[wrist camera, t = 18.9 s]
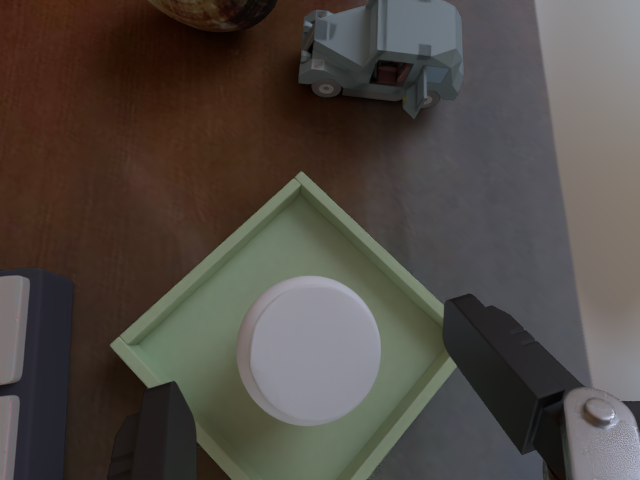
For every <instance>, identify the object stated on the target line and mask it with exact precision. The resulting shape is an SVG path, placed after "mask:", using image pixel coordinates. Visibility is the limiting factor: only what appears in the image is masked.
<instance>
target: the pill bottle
mask: <svg viewBox="0 0 640 480" xmlns="http://www.w3.org/2000/svg"><path fill="white" fill-rule="evenodd" d="M236 358H237V365H238V370H239V374H240V377H241V379H242V382H243V384H244V386H245V388H246V390H247V392H248V393H249V395H250V396H251V397H252V399H253V400H254V401H255V402H256V403H257V405H258V406H259V407H261V408H262V409H263V410H264V411H265V412H267V413H268V414H269V415H271V416H273V417H274V418H276V419H278V420H280V421H283V422H285V423H289V424H293V425H298V426H317V425H322V424H325V423H329V422H332V421H335V420H337V419H339V418H341V417H343V416H345V415H346V414H348V413H349V412H351V411H352V410H353V409H354V408H356V407H357V406H358V405H359V404H360V403H361V402H362V400H363V399H364V398H365V397H366V396H367V394H368V393H369V391H370V390H371V388H372V386H373V384H374V382H375V379H376V377H377V374H378V370H379V366H380V358H381V341H380V335H379V331H378V327H377V324H376V322H375V319H374V317H373V315H372V313H371V311H370V310H369V308H368V307H367V305H366V304H365V303H364V301H363V300H362V299H361V298H360V297H359V296H358V295H357V294H356V293H355V292H354V291H352V290H351V289H350V288H348V287H347V286H345V285H343V284H342V283H340V282H338V281H335V280H333V279H329V278H326V277H321V276H299V277H294V278H290V279H287V280H284V281H281V282H279V283H277V284H275V285H273V286H272V287H270V288H269V289H267V290H266V291H265V292H263V293H262V294H261V295H260V296H259V297H258V298H257V299H256V300H255V301H254V302H253V304H252V305H251V306H250V308H249V309H248V311H247V313H246V315H245V316H244V319H243V321H242V323H241V326H240V329H239V333H238V337H237V345H236Z"/></svg>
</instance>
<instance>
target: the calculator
mask: <svg viewBox="0 0 640 480" xmlns="http://www.w3.org/2000/svg"><path fill="white" fill-rule="evenodd" d="M72 301H73V282H72V281H71V280H70V279H68V278H66V277H63V276H60V275H58V274H55V273H52V272H49V271H47V270H44V269H41V268H38V267H28V268H18V269H8V270H0V480H63V469H64V450H65V431H66V413H67V394H68V375H69V357H70V338H71V319H72Z"/></svg>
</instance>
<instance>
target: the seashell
mask: <svg viewBox="0 0 640 480" xmlns="http://www.w3.org/2000/svg"><path fill="white" fill-rule="evenodd" d="M148 1H149V2H150V3H151V4H152V5H154V6H155V7H156V8H158V9H159V10H160V11H162V12H163V13H165V14H166V15H168V16H169V17H171V18H173V19H175V20H177V21H179V22H181V23H183V24H186V25H188V26H191V27H194V28H197V29H200V30H204V31H210V32H232V31H239V30H244V29H247V28H250V27H252V26H254V25H256V24H258V23H259V22H260V21H262V20H263V19H264V18H265V17H266V16H267V15H268V14H269V13H270V12H271V11H272V9H273V8H274V7H275V5H276V2H277V0H148Z"/></svg>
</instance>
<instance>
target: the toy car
mask: <svg viewBox="0 0 640 480" xmlns="http://www.w3.org/2000/svg"><path fill="white" fill-rule="evenodd" d="M463 77H464V76H463V49H462V23H461V17H460V15H459V13H458V11H457V9H456V8H455V6H453V5H451V4H449V3H448V2H446V1H444V0H369V2H368V3H367V5H366V6H362V7H358V8H355V9H351V10H347V11H344V12H340V13H337V14H332V13H330V12H329V11H324V10H315V11H313V12H312V13H310V14H309V15H307V16H305V17H304V24H303V36H302V48H301V60H300V68H299V82H298V83H302V84H312V86H311V87H312V91H313V92H314V93H315V94H316V95H318V96H321V97H333V96H336V95H338V94H339V93H340V91H341V86H342V87H343V88H342V95H345V96H354V97H363V98H372V99H380V100H389V101H398V100H401V99H403V109H404V110H405V111H406V112H407V113H408V114H409V115H410V116H411V117H412V118H413V119H415V117H416V115H417V114H418V112H419V110H420V109H421V108H428V107H431V106H433V105H435V104H437V103H438V102H439V100H440V97H441V98H442V99H443V100H451V101H454V100H455V98H456V97H457V96H458V94H459V91H460V87H461V84H462V80H463ZM372 78H375V79H372Z"/></svg>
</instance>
